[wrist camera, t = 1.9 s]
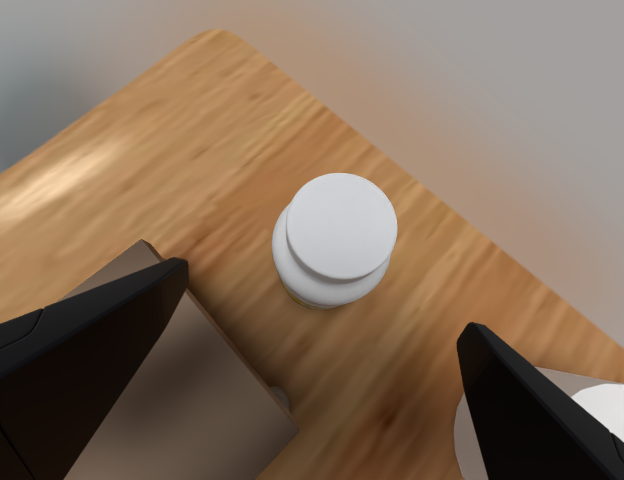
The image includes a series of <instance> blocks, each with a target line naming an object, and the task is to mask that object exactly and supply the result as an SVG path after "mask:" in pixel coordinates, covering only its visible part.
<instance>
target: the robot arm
mask: <svg viewBox="0 0 624 480" xmlns="http://www.w3.org/2000/svg"><path fill="white" fill-rule="evenodd" d="M188 283H189V271H188V261H187V260H185V259H181V258H177V257H173V258H170V259H167V260H165V261H162V262H160V263H157V264H155V265H152V266H149V267H147V268H144V269H142V270H139V271H136V272H134V273H131V274H129V275H126V276H124V277H121V278H118V279H116V280H113V281H111V282H108V283H105V284H103V285H100V286H98V287H95V288H92V289H90V290H87V291H85V292H82V293H80V294H77V295H74V296H72V297H69V298H67V299H64V300H61V301H59V302H56V303H54V304H51V305H48V306H46V307H44V309H42V308H41V309H38V310H35V311H33V312H30V313H28V314H25V315H22V316H20V317H17V318H14V319H12V320H9V321H6V322H4V323H1V324H0V480H64V478H65V477H66V475H67V474H68V472H69V471H70V469H71V468H72V466H73V465H74V463H75V462H76V461H77V459H78V458H79V456H80V455H81V453H82V452H83V450H84V449H85V447H86V446H87V444H88V443H89V441H90V440H91V438H92V437H93V435H94V434H95V432H96V431H97V429H98V428H99V427H100V425H101V424H102V422H103V421H104V419H105V418H106V416H107V415H108V413H109V412H110V410H111V409H112V407H113V406H114V404H115V403H116V401H117V400H118V398H119V397H120V395H121V394H122V392H123V391H124V390H125V388H126V387H127V385H128V384H129V382H130V381H131V379H132V378H133V376H134V375H135V373H136V372H137V370H138V369H139V367H140V366H141V364H142V363H143V361H144V360H145V358H146V357H147V355H148V354H149V353H150V351H151V350H152V348H153V347H154V345H155V344H156V342H157V341H158V339H159V338H160V336H161V335H162V333H163V332H164V330H165V328H166V327H167V325H168V323H169V321H170V319H171V317H172V315H173V313H174V312H175V310H176V308H177V306H178V304H179V302H180V300H181V298H182V296H183V294H184V292H185V291H186V289H187V286H188ZM457 352H458V358H459V364H460V370H461V376H462V382H463V387H464V392H465V397H466V401H467V404H468V408H469V412H470V415H471V419H472V422H473V426H474V430H475V433H476V437H477V440H478V444H479V448H480V451H481V455H482V458H483V462H484V466H485V469H486V473H487V476H488V480H624V442H623V441H622V440H621V439H620V438H618V437H617V436H616V435H615V434H614V433H610V431H609V429H608V428H606V427H605V426H604V425H603V424H602V423H600V422H599V421H598V420H597V419H596V418H594V417H593V416H592V415H591V414H590V413H589V412H587V411H586V410H585V409H584V408H583V407H581V406H580V405H579V404H578V403H577V402H575V401H574V400H573V399H572V398H571V397H570V396H568V395H567V394H566V393H565V392H564V391H562V390H561V389H560V388H559V387H558V386H556V385H555V384H554V383H553V382H552V381H550V380H549V379H548V378H547V377H546V376H545V375H543V374H542V373H541V372H540V371H539V370H537V369H536V368H535V367H534V366H533V365H531V364H530V363H529V362H528V361H527V360H526V359H524V358H523V357H522V356H521V355H520V354H518V353H517V352H516V351H515V350H514V349H512V348H511V347H510V346H509V345H508V344H507V343H505V342H504V341H503V340H502V339H501V338H499V337H498V336H497V335H496V334H495V333H493V332H492V331H491V330H490V329H489V328H487V327H486V326H485V325H483V324H479V323H474V322H470V323H468V324H467V326H466V327H465V329H464V330H463V332H462V333H461V335H460V337H459V338H458V340H457Z"/></svg>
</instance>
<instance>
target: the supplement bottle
mask: <svg viewBox="0 0 624 480" xmlns="http://www.w3.org/2000/svg"><path fill="white" fill-rule="evenodd" d="M396 238H397V219H396V215H395V212H394V209H393V207H392V204H391V203H390V201H389V199H388V198H387V197H386V195H385V194H384V193H383V192H382V191H381V190H380V189H379V188H378V187H377V186H376V185H375V184H373V183H372V182H370V181H368V180H366V179H364V178H362V177H359V176H356V175H353V174H347V173H332V174H326V175H323V176H320V177H317V178H315V179H313V180H311V181H310V182H308V183H307V184H305V185H304V186H303V187H302V188H301V189H300V190H299V191H298V192H297V193H296V195H295V196H294V198H293V200H292V201H291V203H290V204H289V205H288V206H287V207H286V208H285V209H284V210H283V212H282V213H281V215H280V216H279V218H278V220H277V222H276V225H275V228H274V231H273V236H272V253H273V258H274V262H275V265H276V268H277V271H278V273H279V276H280V278H281V281H282V284H283V286H284V288H285V289H286V291H287V292H288V294H289V295H290V296H291V297H292V298H293V299H294V300H295V301H296V302H298V303H299V304H301V305H303V306H305V307H308V308H312V309H317V310H325V309H331V308H335V307H338V306H341V305H344V304H348V303H351V302H354V301H356V300H358V299H360V298H361V297H363V296H365V295H366V294H368V293H369V292H370V291H371V290H372V289H374V288H375V287H376V285H377V284H378V283H379V282H380V281H381V279H382V277H383V276H384V274H385V272H386V270H387V268H388V265H389V261H390V256H391V252H392V250H393V248H394V245H395V242H396Z"/></svg>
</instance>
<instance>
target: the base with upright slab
mask: <svg viewBox="0 0 624 480" xmlns="http://www.w3.org/2000/svg"><path fill="white" fill-rule="evenodd" d="M534 367H535V366H534ZM535 368H536V369H537V370H539V371H540V372H541V373H542V374H543V375H545V376H546V377H547V378H548V379H549V380H550V381H552V382H553V383H554V384H555V385H556V386H558V387H559V388H560V389H561V390H562V391H564V392H565V393H566V394H567V395H568V396H570V397H571V398H572V399H573V400H574V401H575V402H577V403H578V404H579V405H580V406H581V407H583V408H584V409H585V410H586V411H587V412H589V413H590V414H591V415H592V416H593V417H594V418H596V419H597V420H598V421H599V422H600V423H602V424H603V425H604V426H605V427H606V428H608V429H609V431H610V433H614V434H615V435H616V436H617V437H618V438H620V439H621V440H622V441H623V442H624V384H623V383H617V382H612V381H607V380H602V379H597V378H592V377H587V376H581V375H576V374H571V373H566V372H561V371H556V370H551V369H545V368H540V367H535ZM453 430H454V445H455V454H456V457H457V461H458V464H459V468H460V471H461V475H462V477H463V478H464V480H488V476H487V473H486V469H485V466H484V462H483V458H482V455H481V451H480V448H479V444H478V440H477V437H476V433H475V430H474V426H473V422H472V419H471V415H470V412H469V408H468V404H467V401H466V397H465V392H464V394H463V396H462V398H461V400H460V403H459V405H458V407H457V411H456V417H455V423H454V429H453Z"/></svg>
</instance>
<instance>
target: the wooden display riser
mask: <svg viewBox="0 0 624 480" xmlns="http://www.w3.org/2000/svg"><path fill="white" fill-rule="evenodd" d="M165 260H166V259H163V258H162V257H161V256H160V255H159V253H158V252H157V251H156V250H155V249H154V247H153V246H152V245H151V244H150V243H148V242H146V241H144V240H142V239H141V240H139V241H138V242H137V243H135V244H134V245H133V246H131V247H130V248H129V249H127V250H126V251H125V252H123V253H122V254H121V255H119V256H118V257H116V258H115V259H114V260H112V261H111V262H110V263H108V264H107V265H106V266H104V267H103V268H102V269H100V270H99V271H98V272H96V273H95V274H94V275H92V276H91V277H90V278H88V279H87V280H86V281H84V282H83V283H82V284H80V285H79V286H78V287H76V288H75V289H74V290H72V291H71V292H70V293H68V294H67V295H66V296H64V297H63V298H62V299H60V300H59V301H61V300H64V299H67V298H69V297H72V296H74V295H77V294H80V293H82V292H85V291H87V290H90V289H92V288H95V287H98V286H100V285H103V284H105V283H108V282H111V281H113V280H116V279H118V278H121V277H124V276H126V275H129V274H131V273H134V272H136V271H139V270H142V269H144V268H147V267H149V266H152V265H155V264H157V263H160V262H162V261H165ZM59 301H58V302H59ZM298 432H299V423H298V422H297V421H296V419H295V418H294V417H293V416H292V415H291V413H290V412H289V396H288V394H287V392H286V391H285V390H284V389H283V388H281V387H279V386H271V387H268V386H267V384H266V383H265V382H264V381H263V379H262V378H261V377H260V376H259V375H258V373H257V372H256V371H255V370H254V369H253V367H252V366H251V365H250V364H249V362H248V361H247V360H246V359H245V358H244V356H243V355H242V354H241V353H240V352H239V350H238V349H237V348H236V347H235V346H234V344H233V343H232V342H231V341H230V339H229V338H228V337H227V336H226V335H225V333H224V332H223V331H222V330H221V329H220V327H219V326H218V325H217V324H216V322H215V321H214V320H213V319H212V318H211V316H210V315H209V314H208V313H207V312H206V310H205V309H204V308H203V307H202V305H201V304H200V303H199V302H198V301H197V299H196V298H195V297H194V296H193V295H192V293H191V292H190V291H189V290H188V289H186V291H185V292H184V294H183V296H182V298H181V300H180V302H179V304H178V306H177V308H176V310H175V312H174V313H173V315H172V317H171V319H170V321H169V323H168V325H167V327H166V328H165V330H164V332H163V333H162V335H161V336H160V338H159V339H158V341H157V342H156V344H155V345H154V347H153V348H152V350H151V351H150V353H149V354H148V355H147V357H146V358H145V360H144V361H143V363H142V364H141V366H140V367H139V369H138V370H137V372H136V373H135V375H134V376H133V378H132V379H131V381H130V382H129V384H128V385H127V387H126V388H125V390H124V391H123V392H122V394H121V395H120V397H119V398H118V400H117V401H116V403H115V404H114V406H113V407H112V409H111V410H110V412H109V413H108V415H107V416H106V418H105V419H104V421H103V422H102V424H101V425H100V427H99V428H98V429H97V431H96V432H95V434H94V435H93V437H92V438H91V440H90V441H89V443H88V444H87V446H86V447H85V449H84V450H83V452H82V453H81V455H80V456H79V458H78V459H77V461H76V462H75V463H74V465H73V466H72V468H71V469H70V471H69V472H68V474H67V475H66V477H65V478H64V480H255V479H256V477H257V476H258V475H259V474H260V473H261V472H262V471H263V470H264V469H265V468H266V467H267V466H268V465H269V463H270V462H271V461H272V460H273V459H274V458H275V457H276V456H277V455H278V454H279V453H280V452H281V451H282V450H283V448H284V447H285V446H286V445H287V444H288V443H289V442H290V441H291V440H292V439H293V438H294V437H295V436H296V434H297V433H298Z"/></svg>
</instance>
